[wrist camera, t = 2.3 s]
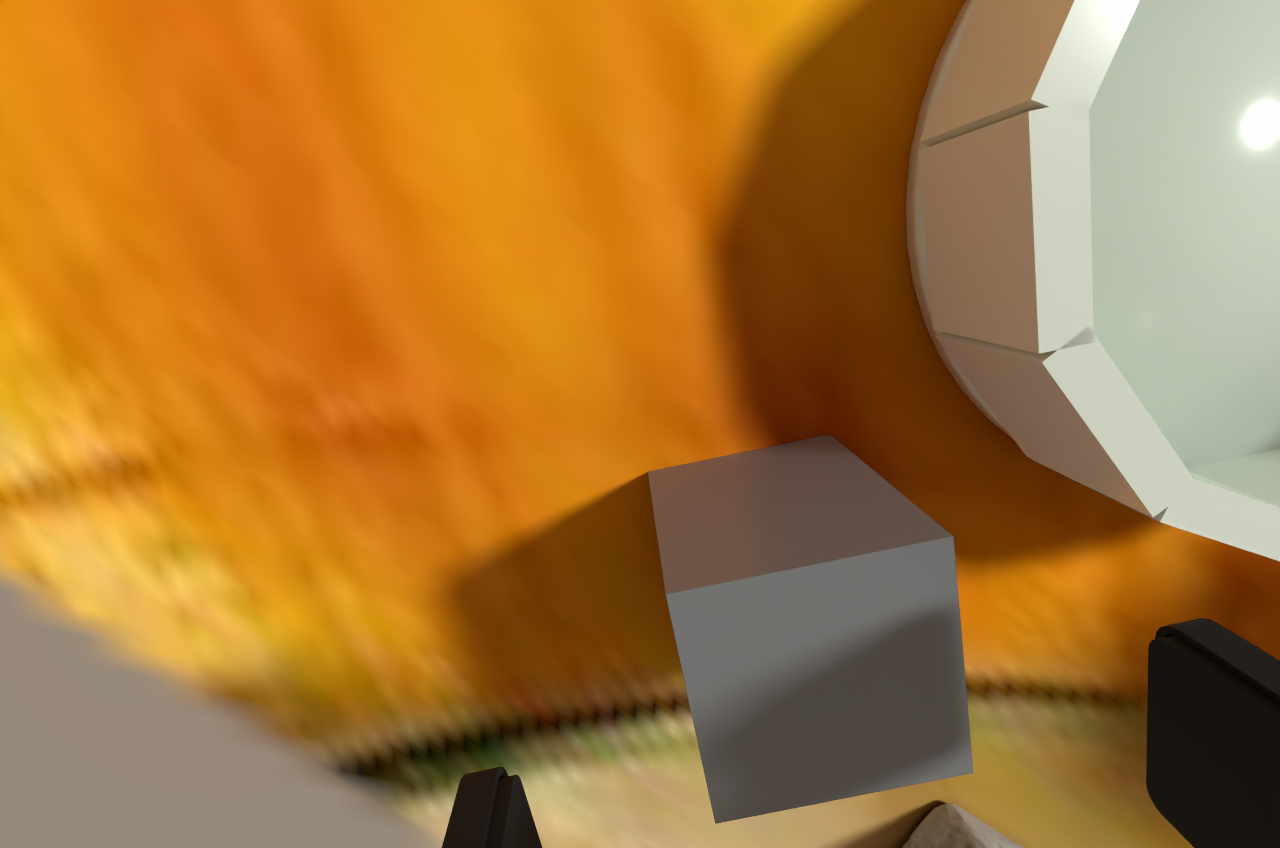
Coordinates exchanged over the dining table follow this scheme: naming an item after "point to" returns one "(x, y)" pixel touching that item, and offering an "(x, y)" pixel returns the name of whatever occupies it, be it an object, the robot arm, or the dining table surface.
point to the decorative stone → (956, 831)
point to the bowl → (1113, 246)
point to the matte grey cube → (811, 627)
